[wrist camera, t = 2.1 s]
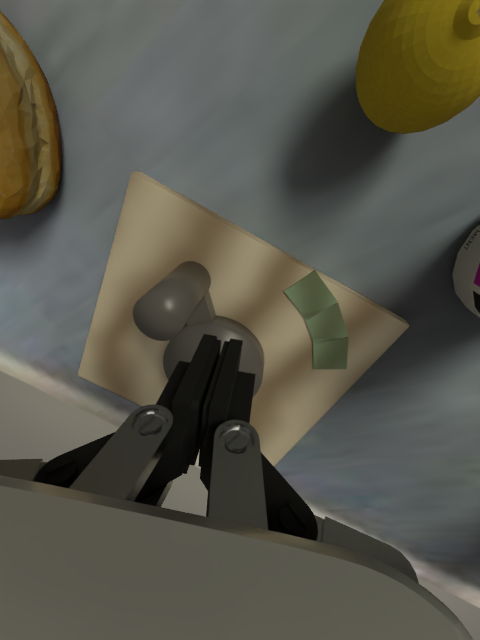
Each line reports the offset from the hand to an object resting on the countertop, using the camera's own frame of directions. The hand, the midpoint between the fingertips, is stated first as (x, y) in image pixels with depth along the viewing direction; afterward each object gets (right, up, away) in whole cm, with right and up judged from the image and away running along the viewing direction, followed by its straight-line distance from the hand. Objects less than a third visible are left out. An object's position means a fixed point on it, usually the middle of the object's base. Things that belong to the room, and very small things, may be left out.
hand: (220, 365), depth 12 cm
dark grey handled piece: (-1, -2, +12) cm, 12 cm away
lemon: (+9, +15, +4) cm, 18 cm away
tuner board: (-1, 0, +13) cm, 13 cm away
